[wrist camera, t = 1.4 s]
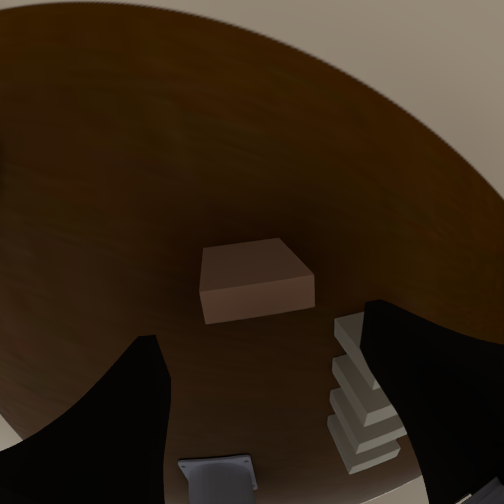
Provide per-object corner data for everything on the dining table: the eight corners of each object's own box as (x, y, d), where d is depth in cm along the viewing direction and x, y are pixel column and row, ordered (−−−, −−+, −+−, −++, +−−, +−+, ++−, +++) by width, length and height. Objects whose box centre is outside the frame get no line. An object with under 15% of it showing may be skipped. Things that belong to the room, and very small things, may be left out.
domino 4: (374, 387, 25) (407, 433, 18) (329, 401, 24) (356, 454, 18) (377, 376, 24) (411, 422, 18) (330, 390, 24) (359, 444, 17)
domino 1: (280, 260, 20) (314, 306, 13) (206, 271, 19) (205, 324, 12) (278, 237, 19) (314, 274, 12) (203, 247, 19) (199, 291, 12)
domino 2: (385, 321, 22) (432, 366, 16) (334, 335, 22) (372, 390, 15) (387, 305, 22) (437, 348, 15) (334, 318, 22) (376, 371, 15)
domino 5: (369, 411, 26) (396, 456, 19) (327, 424, 25) (349, 474, 19) (371, 402, 25) (400, 447, 19) (327, 416, 25) (351, 467, 18)
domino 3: (380, 357, 24) (419, 404, 17) (332, 371, 23) (363, 427, 16) (382, 344, 23) (424, 390, 16) (332, 358, 23) (367, 413, 16)
